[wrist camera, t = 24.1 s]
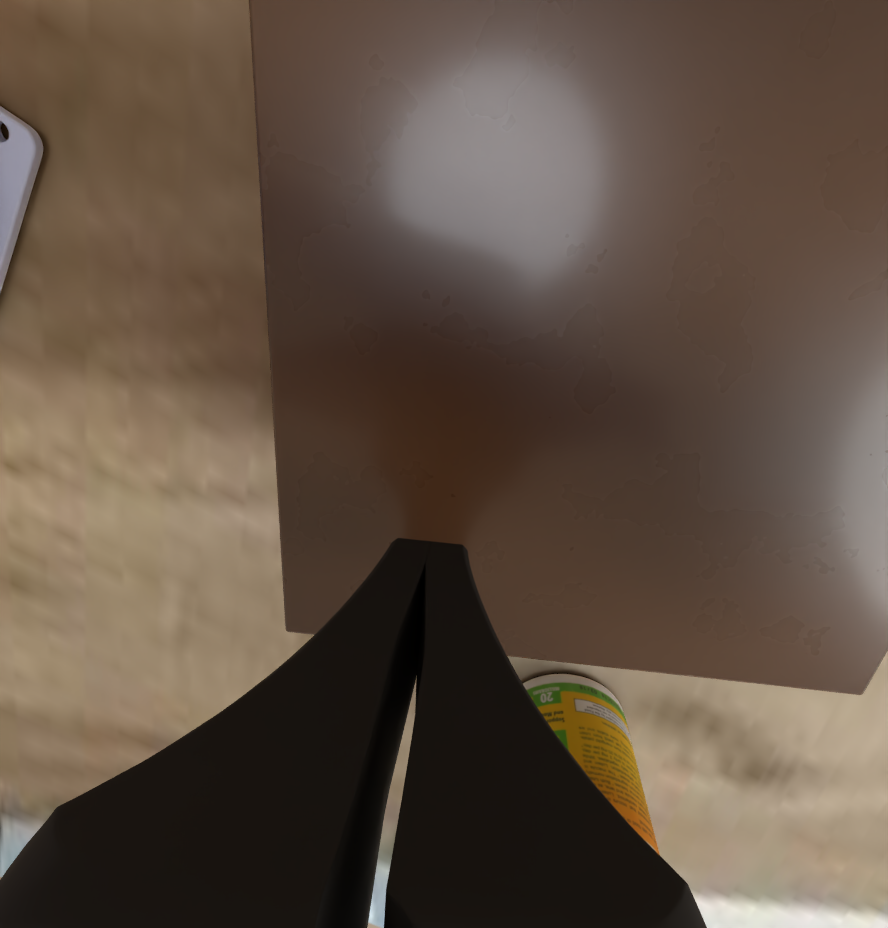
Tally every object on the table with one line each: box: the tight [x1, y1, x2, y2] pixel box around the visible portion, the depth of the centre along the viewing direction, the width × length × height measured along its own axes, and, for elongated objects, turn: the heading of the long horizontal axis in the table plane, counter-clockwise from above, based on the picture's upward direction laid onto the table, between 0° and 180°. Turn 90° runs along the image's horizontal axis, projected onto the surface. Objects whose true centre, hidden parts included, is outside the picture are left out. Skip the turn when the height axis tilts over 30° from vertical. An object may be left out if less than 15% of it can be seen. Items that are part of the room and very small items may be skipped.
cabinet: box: [249, 0, 888, 695], centre depth 14 cm, size 13×13×8 cm
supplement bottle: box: [523, 674, 659, 854], centre depth 21 cm, size 5×5×10 cm
